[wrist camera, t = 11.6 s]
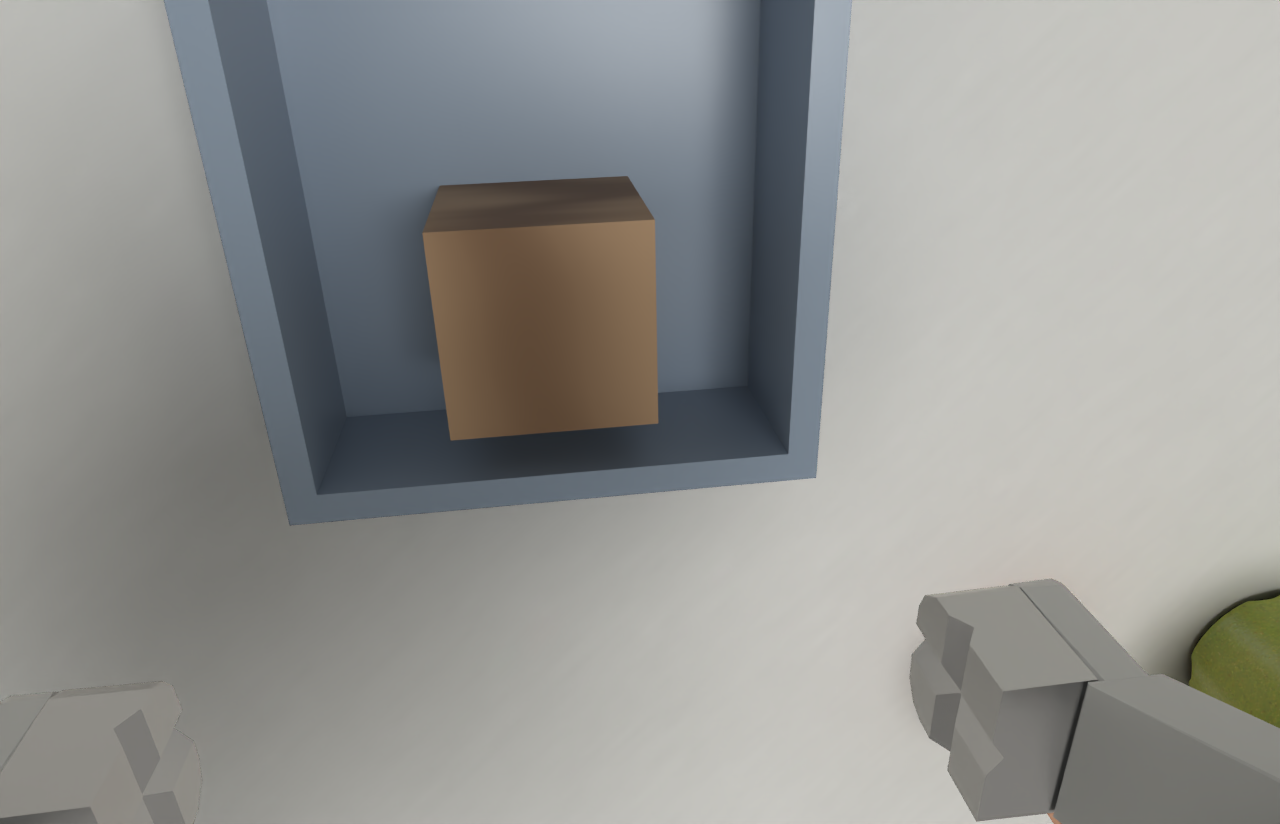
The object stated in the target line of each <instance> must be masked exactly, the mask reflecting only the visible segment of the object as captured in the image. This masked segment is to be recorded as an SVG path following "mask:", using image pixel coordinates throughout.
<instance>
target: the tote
mask: <svg viewBox="0 0 1280 824" xmlns="http://www.w3.org/2000/svg"><path fill="white" fill-rule="evenodd" d="M164 3H165V7H166V11H167V16H168V20H169V24H170V28H171V32H172V36H173V41H174V45H175V49H176V53H177V57H178V61H179V66H180V70H181V74H182V78H183V82H184V87H185V91H186V95H187V99H188V103H189V107H190V112H191V116H192V120H193V124H194V128H195V132H196V137H197V141H198V145H199V149H200V153H201V157H202V162H203V166H204V170H205V174H206V178H207V182H208V187H209V191H210V195H211V199H212V203H213V207H214V212H215V216H216V220H217V224H218V228H219V232H220V237H221V241H222V245H223V249H224V253H225V257H226V262H227V266H228V270H229V274H230V278H231V282H232V287H233V291H234V295H235V299H236V303H237V307H238V312H239V316H240V320H241V324H242V328H243V333H244V337H245V341H246V345H247V349H248V353H249V358H250V362H251V366H252V370H253V374H254V378H255V383H256V387H257V391H258V395H259V399H260V403H261V408H262V412H263V416H264V420H265V424H266V428H267V433H268V437H269V441H270V445H271V449H272V453H273V458H274V462H275V466H276V470H277V474H278V478H279V483H280V487H281V491H282V495H283V499H284V503H285V508H286V512H287V516H288V520H289V524H290V525H300V524H311V523H322V522H333V521H344V520H355V519H366V518H377V517H388V516H399V515H410V514H421V513H432V512H444V511H455V510H466V509H477V508H488V507H499V506H510V505H521V504H532V503H543V502H554V501H565V500H576V499H587V498H598V497H609V496H620V495H631V494H643V493H654V492H665V491H676V490H687V489H698V488H709V487H720V486H731V485H742V484H753V483H764V482H775V481H786V480H797V479H808V478H816V471H817V458H818V445H819V431H820V418H821V405H822V392H823V378H824V365H825V352H826V339H827V325H828V312H829V299H830V286H831V272H832V259H833V246H834V233H835V219H836V206H837V193H838V180H839V166H840V153H841V140H842V127H843V113H844V100H845V87H846V74H847V60H848V47H849V34H850V21H851V7H852V0H164ZM618 176H628V177H629V179H630V181H631V182H632V184H633V185H634V187H635V189H636V190H637V192H638V193H639V195H640V197H641V198H642V200H643V201H644V203H645V205H646V206H647V208H648V209H649V211H650V213H651V214H652V216H653V217H654V219H655V252H656V312H657V371H658V424H646V425H634V426H622V427H610V428H598V429H586V430H573V431H561V432H549V433H537V434H525V435H513V436H500V437H488V438H476V439H464V440H452V441H451V440H450V433H449V425H448V418H447V411H446V403H445V396H444V389H443V381H442V374H441V367H440V359H439V352H438V345H437V337H436V330H435V323H434V315H433V308H432V301H431V293H430V286H429V279H428V271H427V264H426V257H425V249H424V242H423V235H422V232H423V229H424V227H425V224H426V221H427V219H428V216H429V213H430V210H431V208H432V205H433V202H434V199H435V197H436V194H437V191H438V189H439V186H441V185H460V184H480V183H500V182H520V181H539V180H559V179H579V178H598V177H618Z"/></svg>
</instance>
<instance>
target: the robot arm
mask: <svg viewBox="0 0 1280 824" xmlns="http://www.w3.org/2000/svg"><path fill="white" fill-rule="evenodd" d="M916 624H917V626H918V627H919V629H920V631H921V632H922V634H923V635H924V637H925V640H924V641H923V643H922V644H921V645H920V646H919V647H918V648H917V649H916V650H915V652H914V653H913V654H912V659H911V669H910V684H911V691H912V697H913V703H914V706H915V708H916V711H917V714H918V717H919V720H920V722H921V724H922V725H923V727H924V729H925V731H926V733H927V735H928V737H929V738H930V739H932V740H933V741H935V742H936V743H938V744H939V745H941V746H943V747H944V748H946V749H947V750H949V751H950V757H949V764H948V770H947V771H948V772H949V774H950V776H951V778H952V779H953V781H954V783H955V785H956V786H957V788H958V790H959V792H960V793H961V795H962V797H963V799H964V801H965V802H966V804H967V806H968V808H969V809H970V811H971V813H972V815H973V816H974V818H975V820H976V821H984V820H993V819H1002V818H1011V817H1020V816H1029V815H1038V814H1046V813H1054V814H1053V817H1054V818H1055V819H1056V820H1058V821H1059V822H1060V823H1062V824H1280V728H1278V727H1276V726H1274V725H1271V724H1269V723H1267V722H1265V721H1263V720H1261V719H1259V718H1256V717H1254V716H1252V715H1250V714H1248V713H1246V712H1243V711H1241V710H1239V709H1237V708H1235V707H1233V706H1231V705H1228V704H1226V703H1224V702H1222V701H1220V700H1218V699H1216V698H1213V697H1211V696H1209V695H1207V694H1205V693H1203V692H1200V691H1198V690H1196V689H1194V688H1192V687H1190V686H1188V685H1185V684H1183V683H1181V682H1179V681H1177V680H1175V679H1173V678H1170V677H1168V676H1166V675H1164V674H1155V675H1148V674H1147V673H1146V672H1145V671H1144V670H1143V668H1142V667H1141V666H1140V665H1139V664H1138V663H1137V662H1136V661H1135V660H1134V659H1133V658H1132V657H1131V656H1130V655H1129V654H1128V653H1127V651H1126V650H1125V649H1124V648H1123V647H1122V646H1121V645H1120V644H1119V643H1118V642H1117V641H1116V640H1115V639H1114V638H1113V637H1112V635H1111V634H1110V633H1109V632H1108V631H1107V630H1106V629H1105V628H1104V627H1103V626H1102V625H1101V624H1100V623H1099V622H1098V621H1097V620H1096V618H1095V617H1094V616H1093V615H1092V614H1091V613H1090V612H1089V611H1088V610H1087V609H1086V608H1085V607H1084V606H1083V605H1082V604H1081V602H1080V601H1079V600H1078V599H1077V598H1076V597H1075V596H1074V595H1073V594H1072V593H1071V592H1070V591H1069V590H1068V589H1067V588H1066V587H1065V585H1063V584H1062V583H1060V582H1058V581H1056V580H1054V579H1044V580H1037V581H1029V582H1022V583H1014V584H1009V585H1008V586H998V587H990V588H981V589H973V590H965V591H956V592H948V593H939V594H931V595H925V596H924V598H923V600H922V601H921V603H920V605H919V609H918V616H917V622H916ZM181 711H182V707H181V704H180V702H179V699H178V697H177V694H176V692H175V690H174V687H173V685H171V684H168V683H165V682H163V681H158V682H146V683H135V684H124V685H113V686H102V687H91V688H80V689H69V690H62V691H60V692H46V693H35V694H24V695H13V696H9V697H7V698H6V699H4V700H2V701H0V824H193V823H194V821H195V818H196V815H197V812H198V809H199V801H200V792H201V784H202V776H201V767H200V758H199V755H198V752H197V749H196V746H195V743H194V741H193V740H192V739H190V738H189V737H187V736H186V735H184V734H183V733H181V732H180V731H178V730H177V729H175V728H174V727H175V725H176V723H177V720H178V718H179V716H180V714H181Z"/></svg>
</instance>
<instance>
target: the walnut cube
mask: <svg viewBox="0 0 1280 824" xmlns="http://www.w3.org/2000/svg"><path fill="white" fill-rule="evenodd" d="M422 235H423V242H424V249H425V257H426V264H427V271H428V279H429V286H430V293H431V301H432V308H433V315H434V323H435V330H436V337H437V345H438V352H439V359H440V367H441V374H442V381H443V389H444V396H445V403H446V411H447V418H448V425H449V433H450V440H451V441H452V440H464V439H476V438H488V437H500V436H513V435H525V434H537V433H549V432H561V431H573V430H586V429H598V428H610V427H622V426H634V425H646V424H658V371H657V312H656V252H655V219H654V217H653V216H652V214H651V213H650V211H649V209H648V208H647V206H646V205H645V203H644V201H643V200H642V198H641V197H640V195H639V193H638V192H637V190H636V189H635V187H634V185H633V184H632V182H631V181H630V179H629V177H628V176H618V177H598V178H579V179H559V180H539V181H520V182H500V183H480V184H460V185H441V186H439V189H438V191H437V194H436V197H435V199H434V202H433V205H432V208H431V210H430V213H429V216H428V219H427V221H426V224H425V227H424V229H423V232H422Z"/></svg>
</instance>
